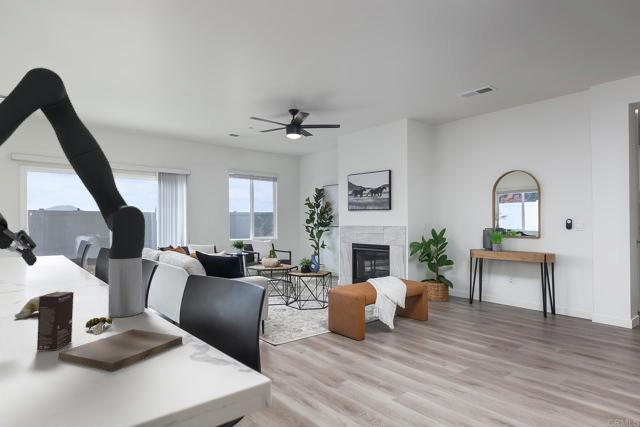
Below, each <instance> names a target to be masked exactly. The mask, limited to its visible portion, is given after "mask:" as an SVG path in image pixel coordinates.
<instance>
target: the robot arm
mask: <svg viewBox="0 0 640 427" xmlns="http://www.w3.org/2000/svg"><path fill="white" fill-rule="evenodd" d="M68 94H69V93H68V92H67V89H66V86H65V82H64V81H63V79H62V77H61V76H60V75H59V74H58V73H57V72H55V71H54V70H52V69H50V68H47V67H34V68H31V69H29V70H28V71H27V72H26V73H25V75H24V76H23V77H22V78H21V79H20V81H18V84H16V86H15V87H14V88H13V89H12V91H11V92H10V93H9V94H8V95H7V96H6V97H4V99H2V101H1V102H0V147H1V146H3V145H4V144H5V143H6V141H8V140H9V139H10V137H11V136H12V135H13V134H14V133H15V132H16V131H17V129H18V128H19V127H20V126H21V125H22V124H23V123H24V122H25V121H26V120H27V119H28V118H30V116H32V115H33V114H34V113H36V112H37V111H39V110H40V111H41V113H43V115H44V117H46V119H47V120H48V122H49V123H50V125H51V127H52V129H53V131H54V133H55V136H56V138H57V141H58V143H59V145H60V148H61V149H62V152H63V154H64V156H65V157H66V159H67V161H68V163H69V164H70V165H71V168H73V170H74V172H75V174H76V175H77V176H78V178H79V179H80V181H81V183H82V184H83V185H84V187H85V188H86V190H87V191H88V193H89V194H90V196H91V197H92V198H93V200H94V202H95V203H96V206H97V207H98V210H99V212H100V213H101V216H102V219H103V220H104V223H105V225H106V227H107V228H108V230H109V231H110V232H111V235H112V236H111V245H110V248H109V249H108V299H107V300H108V304H107V305H108V308H107V309H108V310H107V312H108V313H107V314H108V316H109V317H110V318H111V317H112V318H113V317H114V318H122V317H131V316H136V315H139V314H141V313H143V312H145V310H146V309H145V306H146V305H145V304H146V300H145V299H146V296H145V295H146V294H145V293H146V291H145V290H146V289H145V288H146V283H145V280H144V279H143V251H144V247H145V241H146V240H145V237H146V219H145V216H144V213H143V212H142V210H141V209H139V207H136V206H134V205H128V203H127V202H126V201H125V199H124V197H123V196H122V194H121V192H120V191H119V189H118V187H117V184H116V182H115V176H114V174H113V169H112V167H111V164H110V161H109V160H108V158H107V156H106V154H105V152H104V151H103V149H102V147H101V146H100V144H99V143H98V141H97V139H96V138H95V137H94V134H92V132H91V131H90V130H89V128H88V127H87V126H86V125H85V123H84V122H83V121H82V120H81V118H80V116H78V113H77V112H76V110H75V108H74V106H73V102H72V101H71V99H70V97H69V95H68ZM13 242H14V243H15V244H14V245H12V244H13ZM36 247H37V243H35V242H34V240H33V239H32V238H31V237H30V235H29V234H27V232H26V231H25V230H24V229H20V230H19V231H18V232H13V231H12V230H10V229H9V224H8V221H7V220H6V218H5V217H4V215H3V213H1V212H0V250H7V251H9V252H12V253H13V252H15V253H17V254H19V255H20V256H21V258H22V259H23V260H24V261H25V263H26V264H27V266H29V267H32V266H34V265H35V263H36V262H37V260H38V259H37V256H36V255H35V254H34V252H33V250H35V248H36ZM115 316H116V317H115Z"/></svg>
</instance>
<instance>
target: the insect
mask: <svg viewBox="0 0 640 427" xmlns="http://www.w3.org/2000/svg"><path fill="white" fill-rule="evenodd" d="M115 318H117V317H116V316H115V317H112V318H111V317H105V316H101V317H93V318H91V319H89V320H88V321H86V323H85V326H84V328H86V329H88V330H87V332H86V333H87V334H88V333H89V332H90V331H91V330H93V333H94V335H95V336H98V335H100V333H102V330H103V329H104V328H106V325H107V324H108V325H113V320H114V319H115Z"/></svg>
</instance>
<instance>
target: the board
mask: <svg viewBox="0 0 640 427" xmlns="http://www.w3.org/2000/svg"><path fill="white" fill-rule="evenodd" d="M181 344H183V336H182V335H181V336H180V335H174V334H167V333H162V332H161V333H159V332H155V331H147V330H140V329H135V328H133V329H129V330H125V331H122V332H120V333H116V334H113V335H110V336H106V337H104V338H103V337H102V338H99V339H97V340H94V341H90V342H88V343H84V344H79V345H78V346H74V347H71V348H67V349H64V350H61V351H58V353H57V354H58V360H59V361H63V362H67V363H72V364H77V365H82V366H86V367H91V368H94V369H95V368H96V369H99V370H105V371H108V372H114V371H117V370H120V369H122V368H124V367H127V366H129V365H132V364H134V363H136V362H137V363H138V362H139V361H142V360H144V359H146V358H149V357H152V356H154V355H157V354H159V353H161V352H164V351H165V350H169V349H171V348H174V347H176V346H178V345H181Z"/></svg>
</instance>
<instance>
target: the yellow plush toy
mask: <svg viewBox="0 0 640 427" xmlns="http://www.w3.org/2000/svg"><path fill="white" fill-rule="evenodd" d="M40 296H41V295H39V296H35V297H33V298H30V299H29V300H28V301H27V302H26V304H24V306H23V307H22V308H21V310H20V312H18V313H16V314H14V318H15V319H17V320H18V319H20V320H23V319H26V318H29V317H31V316H32V315H33V314H34V313H36V312H39V297H40Z"/></svg>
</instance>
